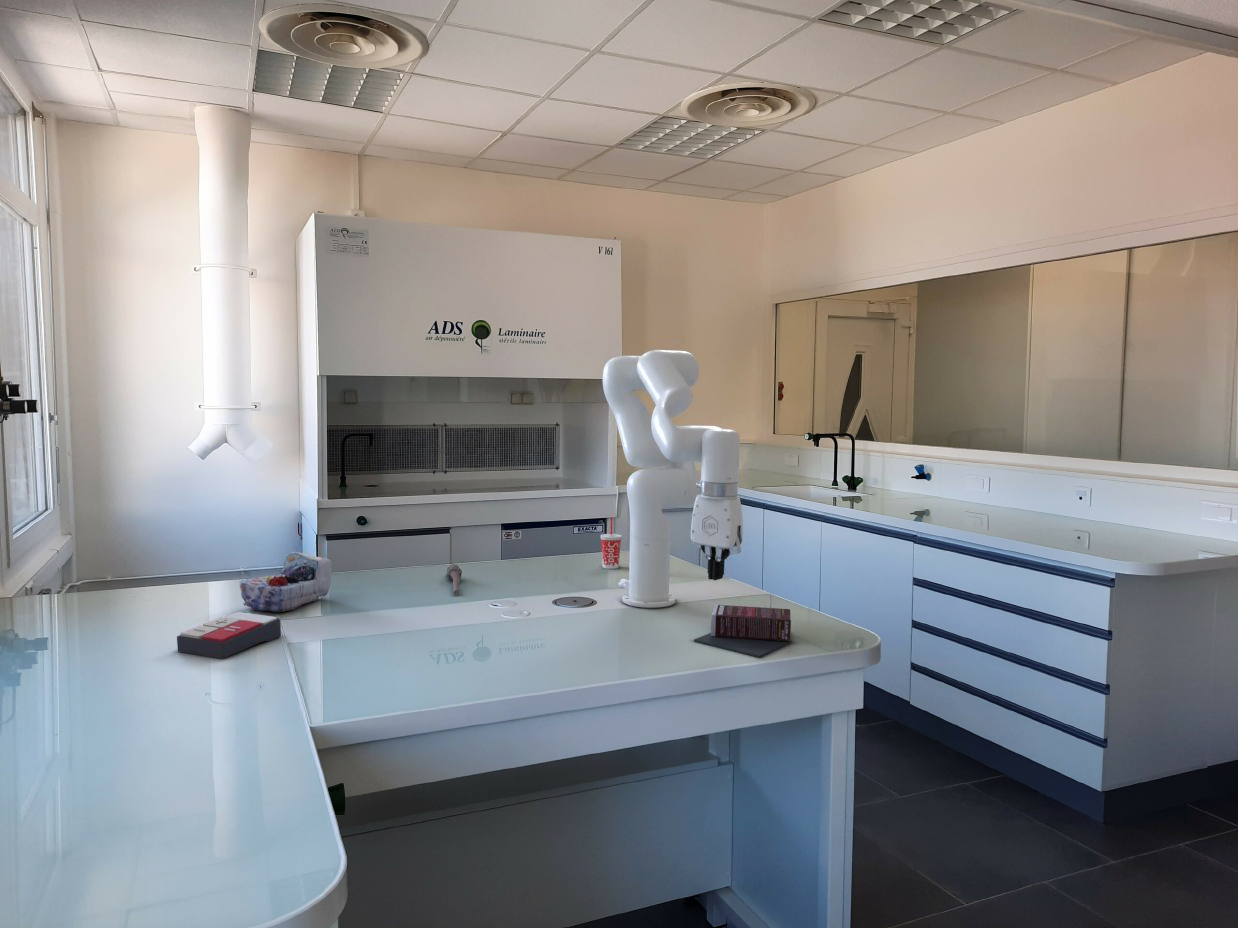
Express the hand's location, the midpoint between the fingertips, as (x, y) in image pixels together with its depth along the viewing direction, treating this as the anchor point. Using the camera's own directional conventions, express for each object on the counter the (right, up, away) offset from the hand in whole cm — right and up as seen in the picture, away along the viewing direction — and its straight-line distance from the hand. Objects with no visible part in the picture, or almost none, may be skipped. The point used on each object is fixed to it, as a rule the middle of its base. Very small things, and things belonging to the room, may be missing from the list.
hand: (715, 578), depth 171 cm
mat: (+5, -12, -4) cm, 14 cm away
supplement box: (-1, -9, +2) cm, 9 cm away
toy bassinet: (-95, -9, +18) cm, 97 cm away
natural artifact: (-62, -7, +39) cm, 74 cm away
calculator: (-94, -11, -11) cm, 96 cm away
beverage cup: (-22, -6, +64) cm, 68 cm away
